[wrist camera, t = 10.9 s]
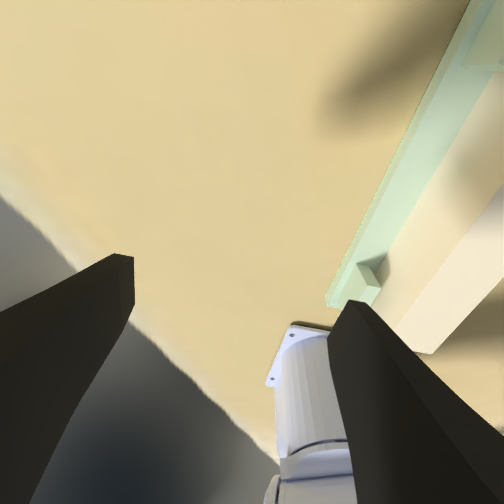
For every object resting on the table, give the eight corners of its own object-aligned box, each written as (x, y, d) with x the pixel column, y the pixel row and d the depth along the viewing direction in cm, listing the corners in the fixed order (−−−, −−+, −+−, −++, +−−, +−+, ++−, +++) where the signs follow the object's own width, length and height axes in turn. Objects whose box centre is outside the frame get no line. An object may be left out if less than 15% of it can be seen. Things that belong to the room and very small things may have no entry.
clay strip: (401, 306, 21) (431, 354, 17) (360, 298, 21) (382, 345, 17) (608, 18, 12) (773, -14, 8) (539, -5, 11) (676, -48, 8)
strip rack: (411, 314, 23) (433, 348, 20) (324, 297, 22) (333, 330, 19) (657, -8, 12) (786, -38, 9) (500, -60, 11) (584, -113, 8)
